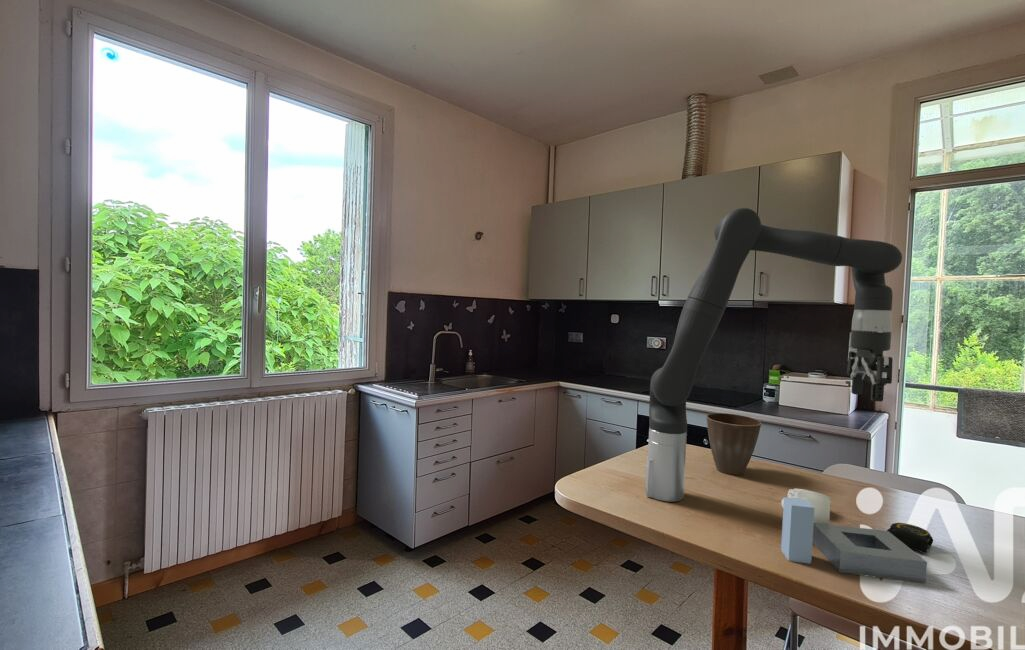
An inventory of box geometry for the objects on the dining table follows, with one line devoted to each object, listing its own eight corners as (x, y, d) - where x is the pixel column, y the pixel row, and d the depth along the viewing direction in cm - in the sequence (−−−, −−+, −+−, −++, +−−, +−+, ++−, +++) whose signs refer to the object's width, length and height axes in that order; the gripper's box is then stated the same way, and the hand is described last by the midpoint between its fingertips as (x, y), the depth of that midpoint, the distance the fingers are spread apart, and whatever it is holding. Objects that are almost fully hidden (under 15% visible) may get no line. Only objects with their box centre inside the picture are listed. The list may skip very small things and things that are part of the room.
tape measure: (884, 543, 100) (885, 526, 100) (895, 535, 104) (896, 518, 103) (925, 558, 94) (926, 540, 94) (936, 549, 98) (937, 531, 98)
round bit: (802, 536, 101) (804, 499, 101) (792, 523, 107) (794, 489, 107) (833, 539, 100) (835, 503, 100) (821, 527, 106) (823, 492, 106)
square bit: (788, 560, 91) (791, 505, 91) (781, 550, 95) (784, 497, 94) (811, 563, 90) (814, 507, 90) (802, 553, 94) (805, 499, 94)
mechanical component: (790, 517, 111) (836, 522, 109) (791, 499, 111) (838, 504, 109) (775, 500, 121) (818, 505, 119) (776, 483, 121) (819, 488, 119)
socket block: (839, 572, 87) (840, 551, 87) (811, 541, 99) (812, 522, 99) (925, 583, 85) (927, 561, 85) (886, 550, 96) (888, 531, 96)
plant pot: (764, 471, 142) (766, 419, 142) (750, 484, 131) (753, 428, 130) (713, 459, 152) (715, 410, 151) (696, 470, 141) (699, 418, 140)
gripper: (838, 327, 118) (834, 391, 119) (870, 330, 104) (865, 402, 105) (872, 328, 117) (867, 393, 117) (908, 331, 103) (903, 404, 103)
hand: (866, 397), depth 111 cm, fingers open, 8 cm apart
